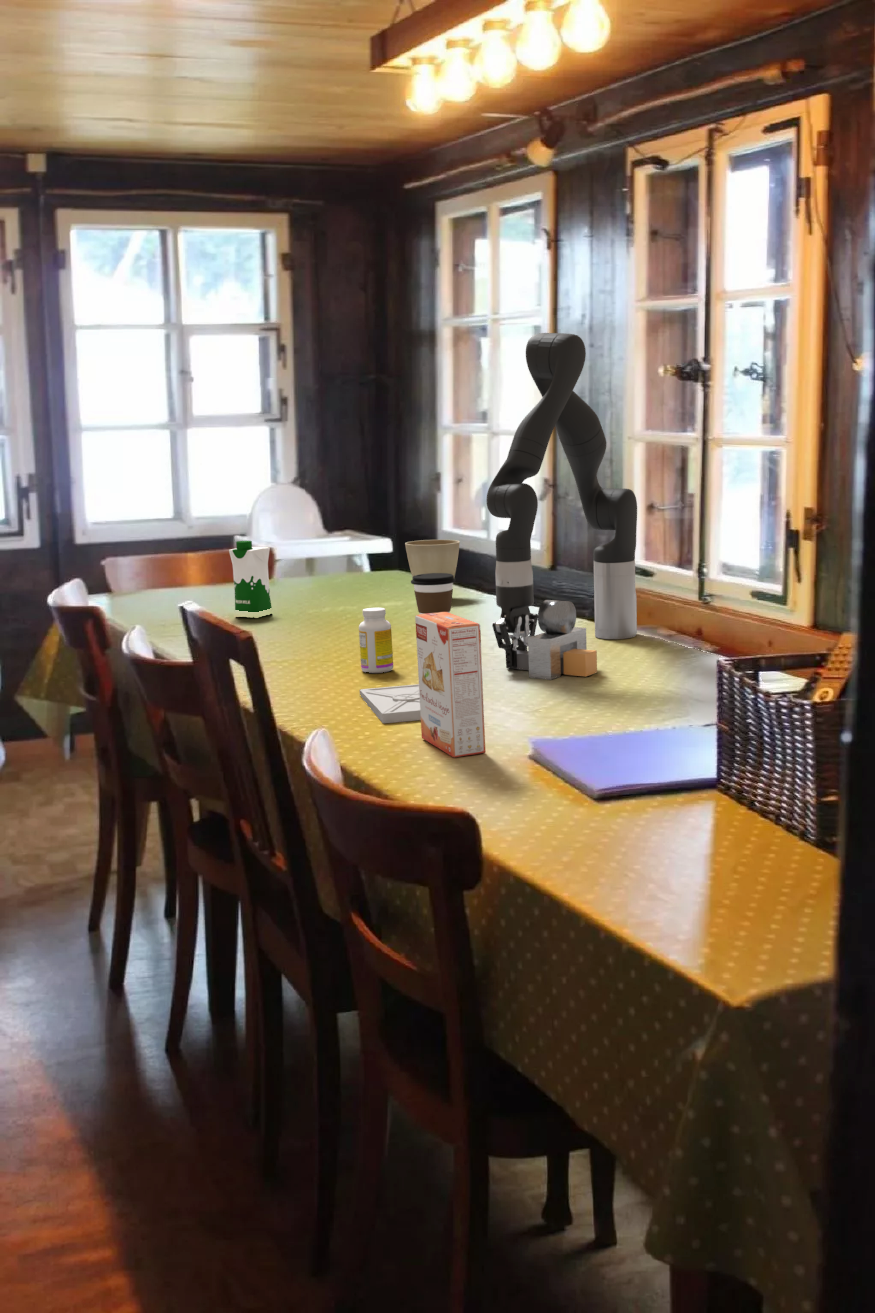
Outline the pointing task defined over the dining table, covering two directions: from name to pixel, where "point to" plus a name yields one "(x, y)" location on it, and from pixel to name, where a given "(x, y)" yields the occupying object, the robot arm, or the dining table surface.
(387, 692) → the envelope
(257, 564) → the milk carton
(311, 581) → the dining table surface
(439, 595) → the coffee cup
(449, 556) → the plant pot
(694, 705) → the dining table surface
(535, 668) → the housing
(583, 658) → the plug
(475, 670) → the cracker box
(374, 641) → the supplement bottle
